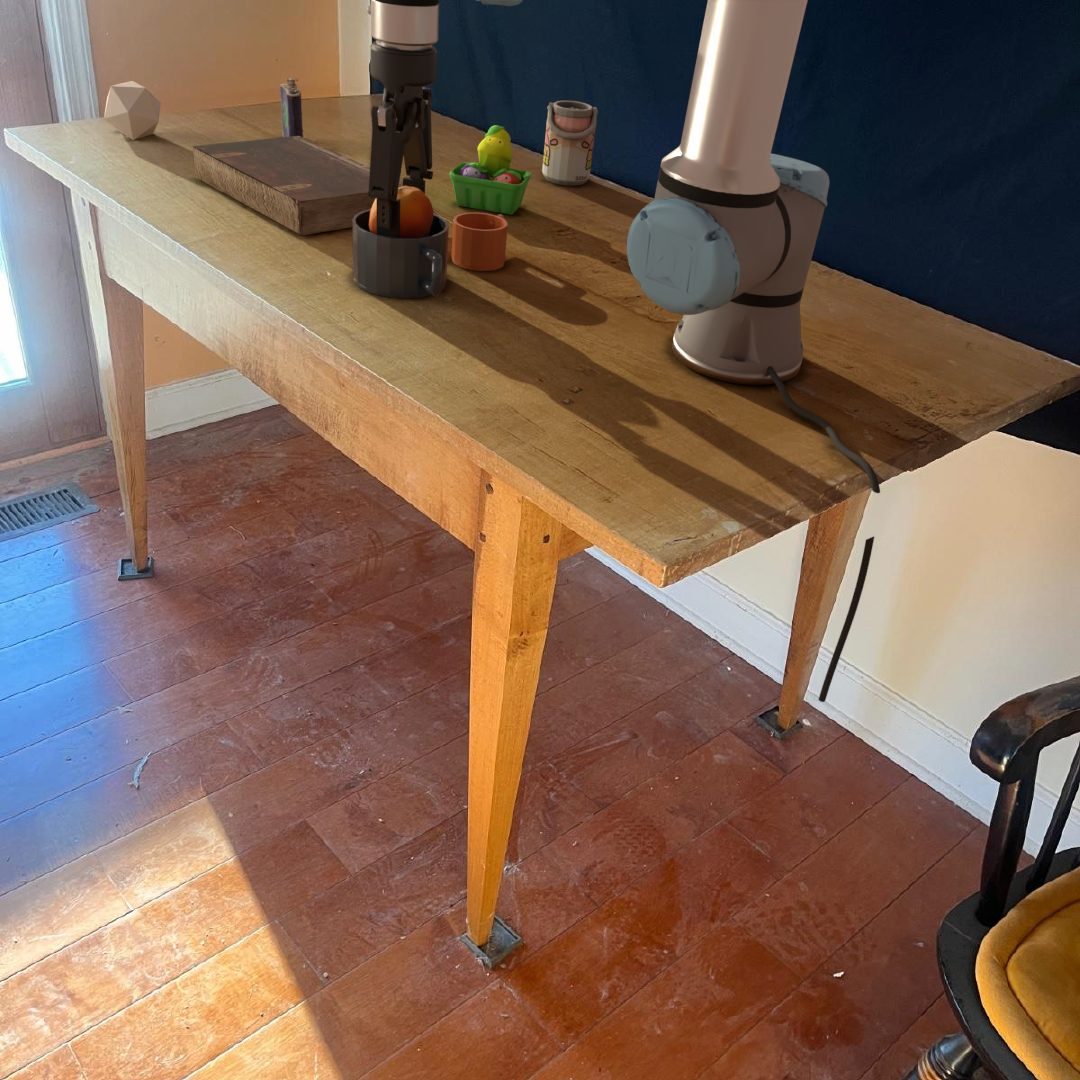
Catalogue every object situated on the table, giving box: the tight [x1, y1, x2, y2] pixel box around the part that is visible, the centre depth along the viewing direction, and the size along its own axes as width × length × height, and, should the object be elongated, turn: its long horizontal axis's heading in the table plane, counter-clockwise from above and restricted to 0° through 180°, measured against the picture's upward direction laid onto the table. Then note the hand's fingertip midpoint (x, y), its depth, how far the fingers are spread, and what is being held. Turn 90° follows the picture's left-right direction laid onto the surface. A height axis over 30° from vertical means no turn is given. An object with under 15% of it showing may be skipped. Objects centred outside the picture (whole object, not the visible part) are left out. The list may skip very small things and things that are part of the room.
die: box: [103, 80, 162, 141], centre depth 171 cm, size 8×9×10 cm
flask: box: [279, 77, 304, 138], centre depth 175 cm, size 9×3×11 cm, turn 21°
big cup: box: [351, 209, 450, 299], centre depth 129 cm, size 15×12×8 cm
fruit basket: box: [449, 124, 532, 216], centre depth 158 cm, size 11×9×11 cm
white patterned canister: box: [541, 100, 599, 187], centre depth 172 cm, size 9×8×12 cm
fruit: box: [369, 186, 434, 238], centre depth 128 cm, size 8×8×8 cm
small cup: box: [451, 211, 509, 272], centre depth 140 cm, size 10×7×6 cm
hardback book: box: [192, 136, 403, 236], centre depth 154 cm, size 29×19×5 cm, turn 44°
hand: (400, 240), depth 129 cm, fingers closed on fruit, 8 cm apart
